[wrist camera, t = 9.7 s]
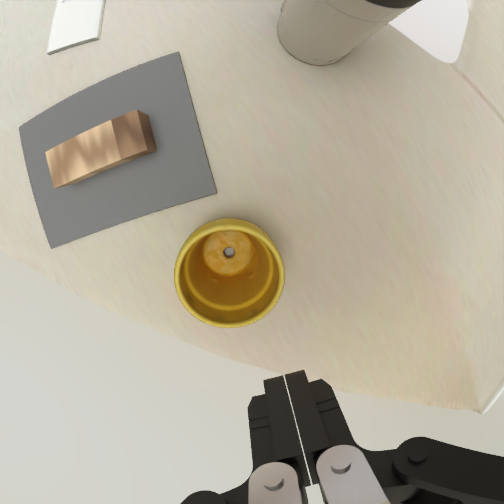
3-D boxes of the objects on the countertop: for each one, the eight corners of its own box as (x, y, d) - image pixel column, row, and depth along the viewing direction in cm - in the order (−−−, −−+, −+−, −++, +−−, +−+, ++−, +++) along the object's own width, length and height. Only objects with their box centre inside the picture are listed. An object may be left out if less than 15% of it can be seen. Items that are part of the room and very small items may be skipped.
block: (45, 152, 26) (136, 109, 26) (63, 151, 30) (148, 115, 30) (54, 188, 28) (147, 149, 27) (72, 184, 32) (157, 150, 32)
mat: (21, 127, 29) (18, 127, 28) (179, 53, 29) (178, 51, 28) (53, 247, 34) (51, 248, 34) (216, 192, 34) (216, 193, 34)
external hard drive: (51, 56, 27) (64, -10, 23) (101, 40, 27) (112, -26, 24) (45, 53, 25) (59, -14, 21) (97, 36, 26) (109, -31, 22)
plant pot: (287, 255, 37) (306, 288, 28) (222, 303, 39) (221, 346, 29) (236, 189, 34) (239, 200, 25) (169, 243, 36) (149, 272, 26)
